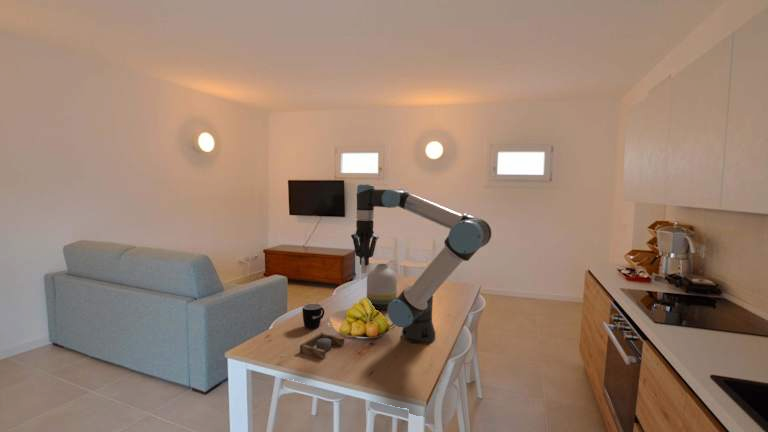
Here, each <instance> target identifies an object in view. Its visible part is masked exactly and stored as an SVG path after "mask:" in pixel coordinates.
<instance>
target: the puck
mask: <svg viewBox="0 0 768 432" xmlns="http://www.w3.org/2000/svg"><path fill="white" fill-rule="evenodd" d="M315 346H316V347H315V348H318V349H322V350H325V351H326V353H328V352H330V351H331V350H332V343H331V340H330V339H328V338H321V339H318V340H317V341H316V345H315Z"/></svg>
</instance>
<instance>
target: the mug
mask: <svg viewBox="0 0 768 432" xmlns="http://www.w3.org/2000/svg"><path fill="white" fill-rule="evenodd" d="M324 315H325V309H324V307H322V304H320V303H313V302H312V303H306V304H304V305H303V306H302V319H303V326H304V327H305V329H307V330H316V329H318V328H319V327H320V324H321V321H322V319H323V318H324Z"/></svg>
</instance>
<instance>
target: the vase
mask: <svg viewBox="0 0 768 432" xmlns="http://www.w3.org/2000/svg"><path fill="white" fill-rule="evenodd" d="M397 292H398V278H397V274H396V272H395V271H393V270H392V268H390V267H389V265H388V264H387V263H377V264H376V266H375V268H372V269H371V270H370V271H369V272H368V274H367V277H366V299H367V298H368V299H369V300H370V301H371V303H372V305H373V306H374V307H375V308H376V310H388V305H389V304H390V302H391V301H392V300H394V299H396V298H397V296H398V293H397ZM375 308H374V309H375Z"/></svg>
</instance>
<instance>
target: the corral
mask: <svg viewBox="0 0 768 432" xmlns="http://www.w3.org/2000/svg"><path fill="white" fill-rule="evenodd" d="M321 338H328V339H330V340H331V345H336V346H340V347H344V346H345V338H344V337H341V336H337V335H333V334H328V333H324V332H320V333H319V334H317V335H315V336H314V337H311V338H310V339H308V340H307V341H305V342H304V343H302V344H300V345H299V353H300V354H301V353H302V354H304V355H308V356H311V357H315V358H318V359H322V360H325V359H326V354H327V352H326V351H325V350H322V349H318V348H316V347H315V346H316V341H317V340H318V339H321Z"/></svg>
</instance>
